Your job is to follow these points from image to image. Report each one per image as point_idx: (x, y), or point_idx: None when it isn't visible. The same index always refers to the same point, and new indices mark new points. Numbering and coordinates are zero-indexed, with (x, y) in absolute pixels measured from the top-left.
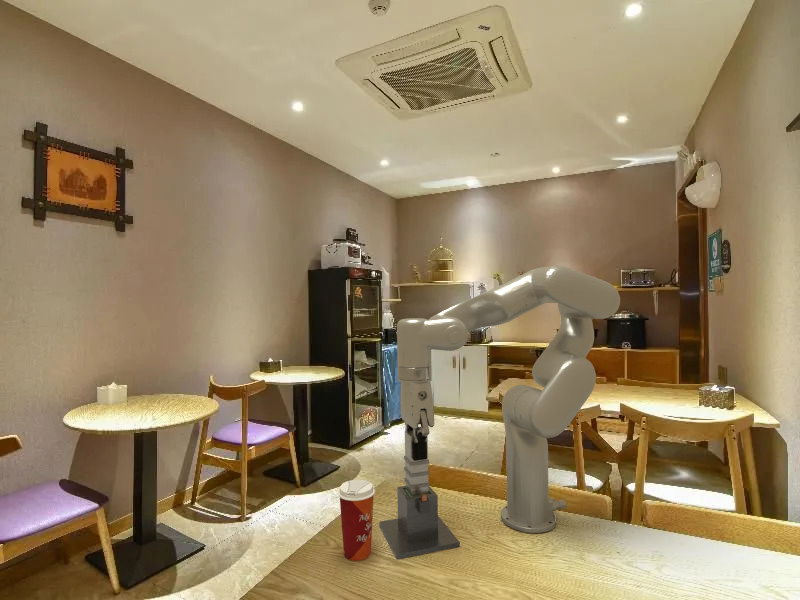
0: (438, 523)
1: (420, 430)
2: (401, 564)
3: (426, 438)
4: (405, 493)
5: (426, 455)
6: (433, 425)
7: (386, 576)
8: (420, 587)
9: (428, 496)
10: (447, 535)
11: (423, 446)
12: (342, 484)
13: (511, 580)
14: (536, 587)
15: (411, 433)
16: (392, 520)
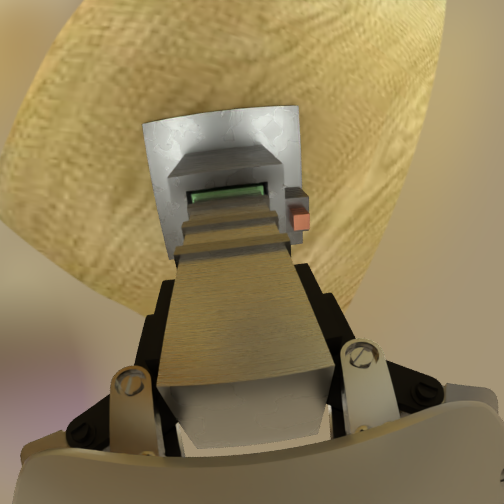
0: (201, 127)
1: (194, 396)
2: (315, 233)
3: (381, 361)
4: None
5: (310, 275)
6: (490, 407)
7: (336, 260)
8: (378, 217)
9: (282, 196)
10: (263, 122)
11: (350, 335)
12: None
13: (408, 75)
14: (428, 54)
15: (260, 433)
16: (167, 232)
